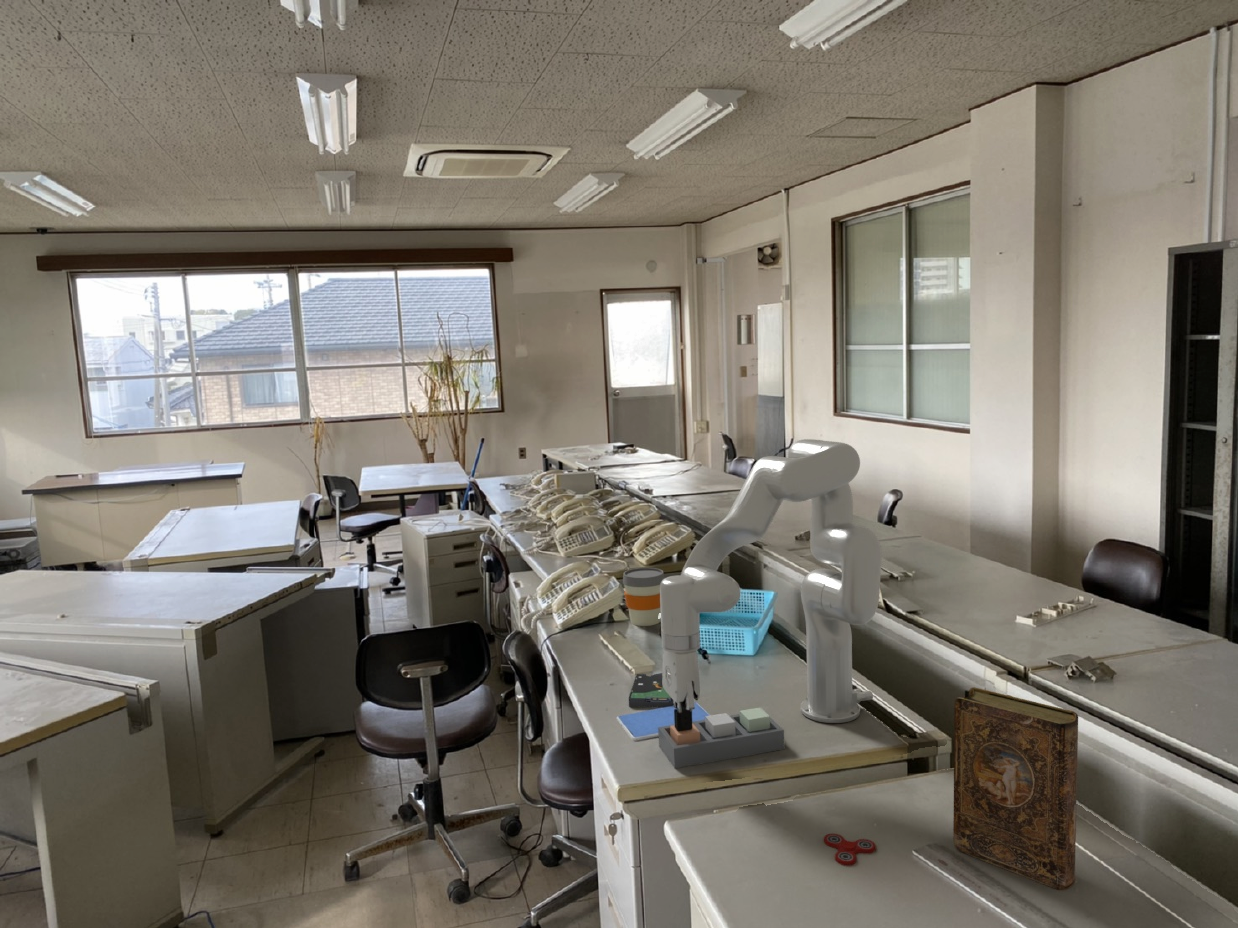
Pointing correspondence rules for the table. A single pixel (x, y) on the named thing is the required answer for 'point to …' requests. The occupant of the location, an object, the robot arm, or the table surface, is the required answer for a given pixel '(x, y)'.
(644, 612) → the reusable coffee cup
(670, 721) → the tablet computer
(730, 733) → the grey key
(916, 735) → the table surface
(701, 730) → the grey compartment tray
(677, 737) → the terracotta key
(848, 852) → the fidget spinner
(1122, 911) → the table surface
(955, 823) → the book
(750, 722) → the sage key
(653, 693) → the disk drive
